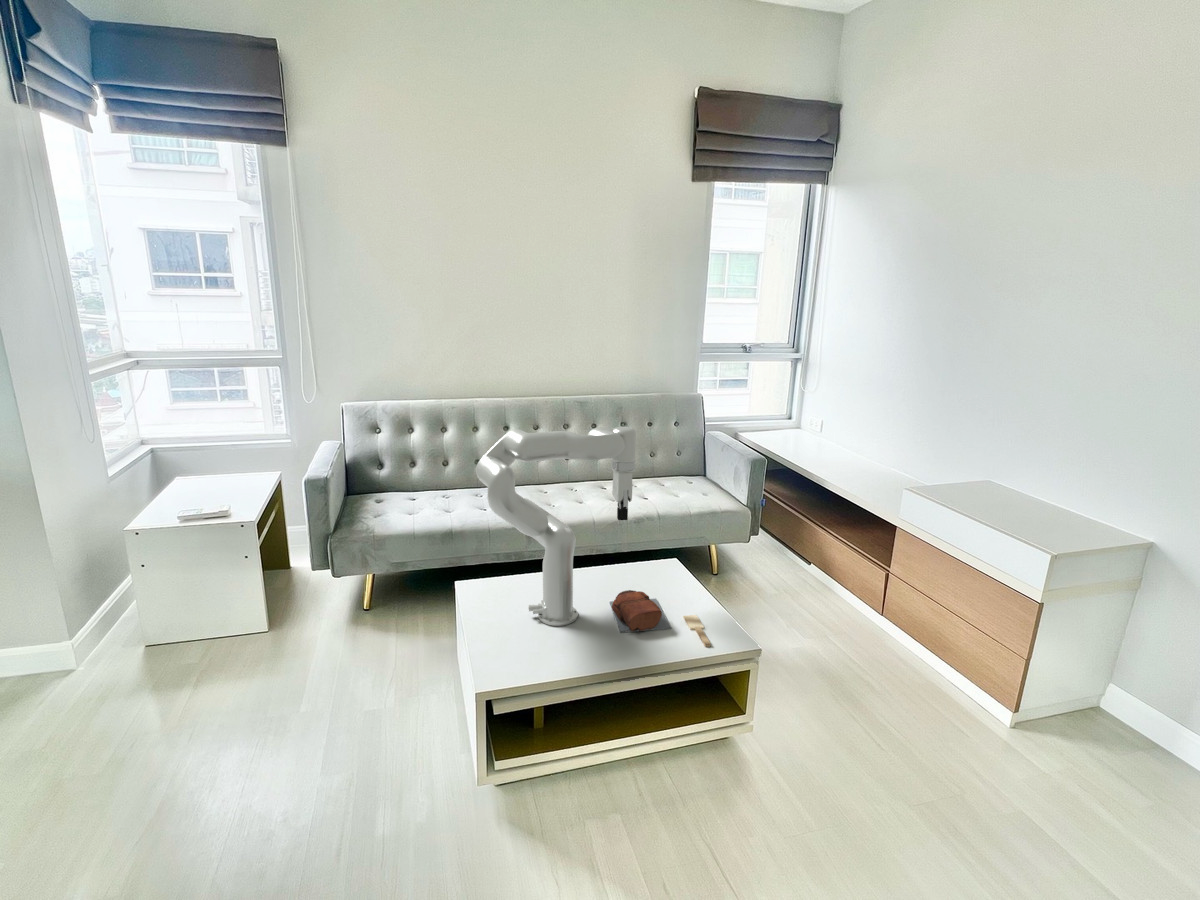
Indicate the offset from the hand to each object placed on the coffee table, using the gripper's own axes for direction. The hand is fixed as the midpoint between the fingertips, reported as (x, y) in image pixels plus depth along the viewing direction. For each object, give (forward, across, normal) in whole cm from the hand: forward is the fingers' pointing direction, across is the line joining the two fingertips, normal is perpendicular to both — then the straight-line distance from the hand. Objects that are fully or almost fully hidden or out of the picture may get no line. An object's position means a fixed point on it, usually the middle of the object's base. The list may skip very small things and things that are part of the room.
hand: (622, 519), depth 203 cm
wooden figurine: (+25, +22, +4) cm, 33 cm away
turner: (+29, +22, +20) cm, 42 cm away
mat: (+29, +11, +4) cm, 31 cm away
